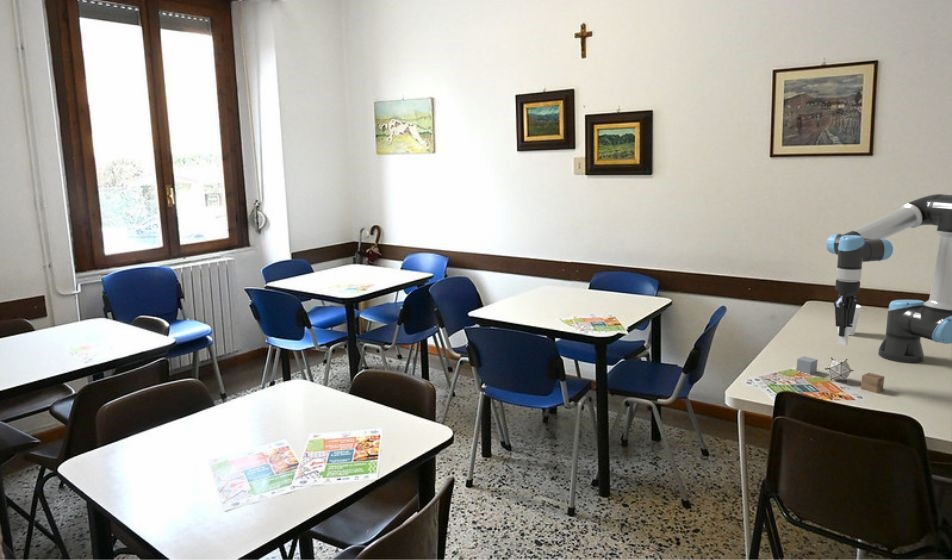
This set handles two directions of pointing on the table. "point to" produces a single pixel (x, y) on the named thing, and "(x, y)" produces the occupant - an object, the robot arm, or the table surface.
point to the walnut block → (872, 382)
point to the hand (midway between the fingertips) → (842, 344)
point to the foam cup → (854, 320)
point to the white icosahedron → (838, 369)
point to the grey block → (807, 365)
